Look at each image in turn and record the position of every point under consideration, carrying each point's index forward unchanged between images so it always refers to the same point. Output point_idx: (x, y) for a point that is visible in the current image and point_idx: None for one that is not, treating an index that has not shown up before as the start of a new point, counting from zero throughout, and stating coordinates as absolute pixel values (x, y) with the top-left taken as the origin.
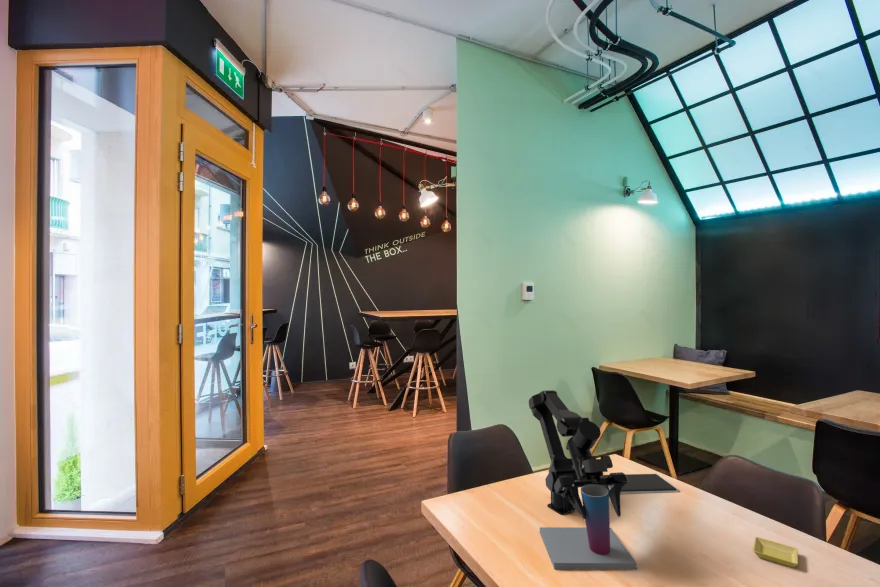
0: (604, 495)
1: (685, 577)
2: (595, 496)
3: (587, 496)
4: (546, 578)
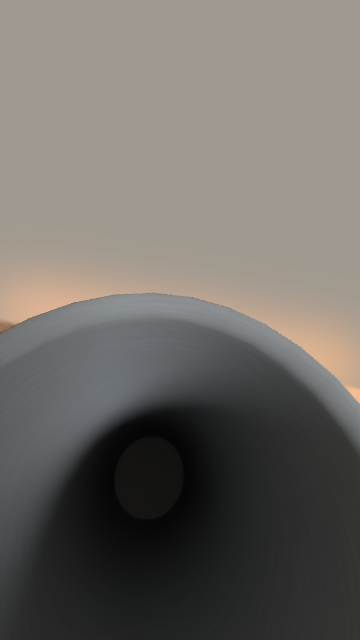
0: (112, 297)
1: (4, 328)
2: (246, 321)
3: (340, 406)
4: (354, 392)
